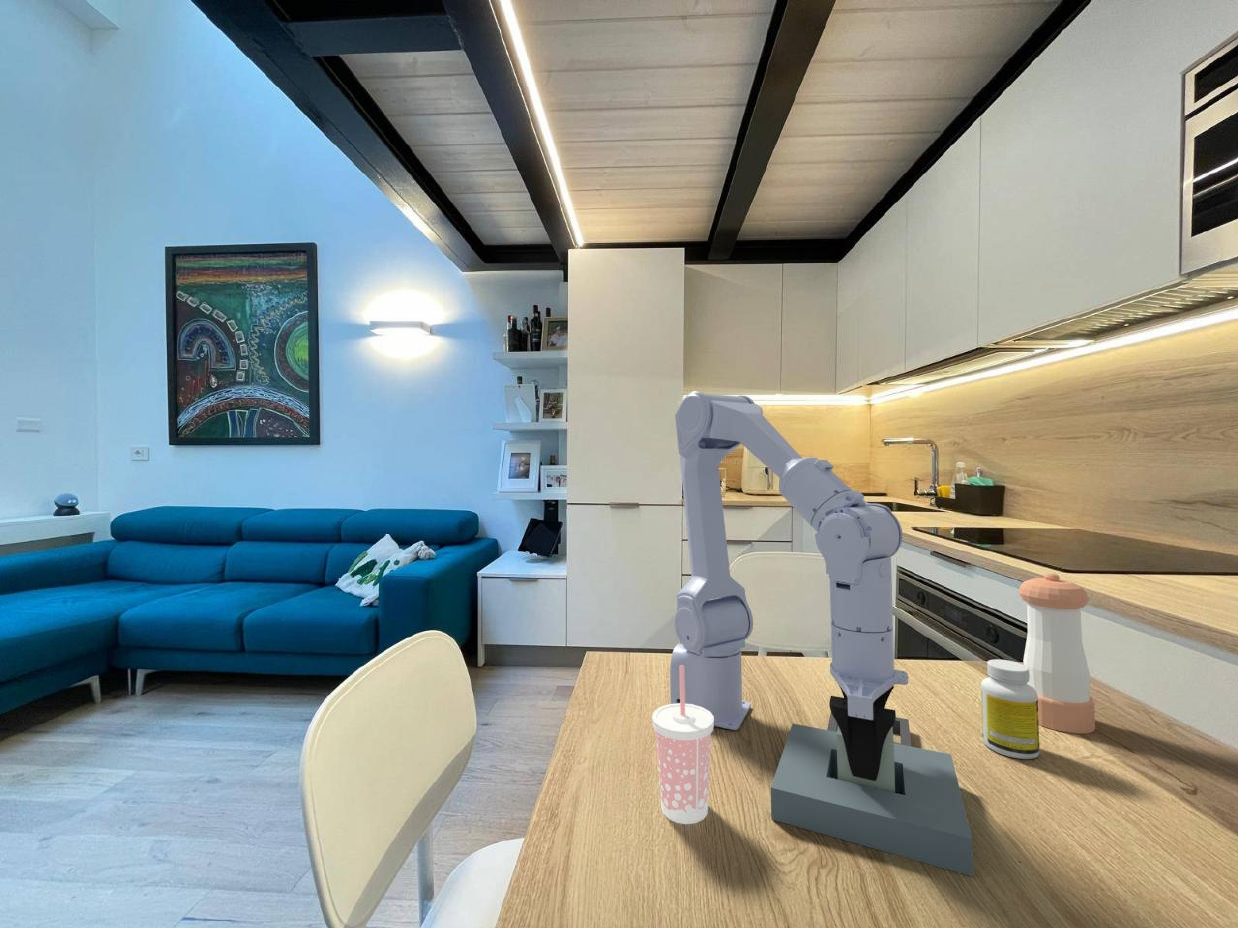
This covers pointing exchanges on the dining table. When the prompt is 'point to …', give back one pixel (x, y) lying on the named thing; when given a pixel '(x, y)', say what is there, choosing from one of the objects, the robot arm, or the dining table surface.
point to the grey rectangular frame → (898, 726)
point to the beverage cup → (683, 758)
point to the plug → (885, 771)
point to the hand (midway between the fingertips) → (865, 760)
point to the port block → (875, 801)
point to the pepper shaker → (1058, 654)
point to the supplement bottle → (1009, 710)
